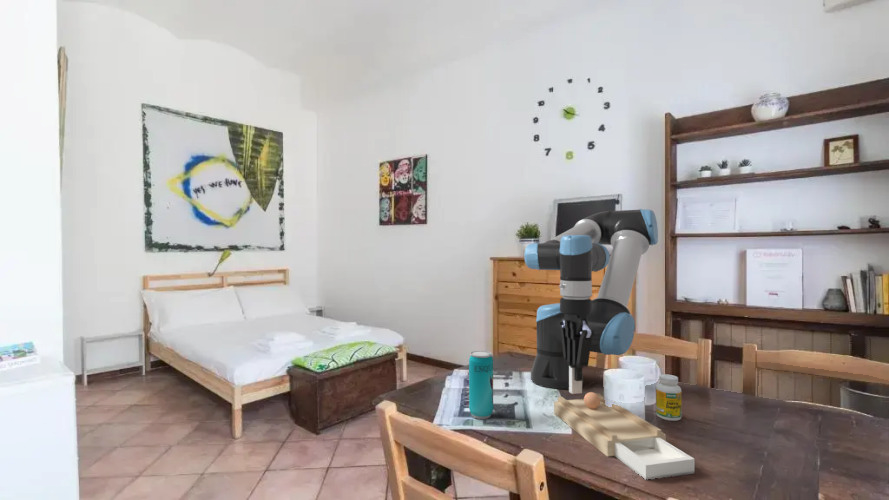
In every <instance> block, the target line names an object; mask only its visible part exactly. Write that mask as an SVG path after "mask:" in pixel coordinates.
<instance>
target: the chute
mask: <svg viewBox="0 0 889 500" xmlns="http://www.w3.org/2000/svg"><path fill="white" fill-rule="evenodd" d="M595 393H596V394H597V395H598V396H599V398H600V405H599V406H598V407H597V408H594V409H592V408H589V407H587V406H586V405H585V403H584V398H577V399H576V398H575V399H566V398H564V397H563V396H557V400H554V401H553V403H554V404H553V414H554V415H555V416H556V417H557V418H559V419H560V420H561V419H562V420H561V421H562V422H564V423H565V422H566V423H567V424H566V423H565V424H566V425H567V426H569V427H570V428H571V429H573V431H575V432H576V433H577V434H579V435H580V436H581V437H582V438H584V439H585V440H586V441H587V442H588V443H589V444H591V445H592V446H593V447H595V448H596V449H597V450H599V452H601V453H602V454H604V456H606V457H615V456H614V443H615V442H620V443H621V442H623V443H624V441H629V442H628V443H627V445H628V444H629V443H630V444H631V442H630V441H632V440H636V444H637V443H639V442H637V440H639V441H640V440H642V439H643V440H648V441H649V440H655V439H653V438H657V437H660V438H661V439H663V440H664V441H666V442H667V439H666V438H667V437H666V436H667V435H666V433H664V432H663V431H662V429H660V428H659V427H657V426H655V425H654V424H652V423H650V422H648V421H647V420H645V419H643V418H642V417H640V416H638V415H636V414H635V413H633V412H632V411H630V410H628V409H626V408H625V407H623V406H621V405H619V404H618V405H619V406H618V405H614V404H612V407H608V406H606V405H605V400H604V397H605V396H604V395H602V394H600V393H598V392H595ZM648 438H650V439H648ZM651 438H652V439H651ZM648 441H646V442H648ZM646 442H645V441H644V442H643V443H645V444H647V443H646ZM650 442H651V441H650ZM652 442H653V441H652ZM623 443H621V444H623ZM632 443H634V441H633V442H632ZM625 444H626V442H625ZM630 444H629V445H628V446H630ZM634 444H635V443H634ZM634 444H632V446H633V445H634ZM641 444H642V443H640V444H639V445H641ZM649 444H650V443H649ZM649 444H648V445H649ZM653 445H654V444H653ZM628 446H627V447H628ZM635 446H636V445H635ZM644 446H645V448H646V446H647V445H644ZM644 446H643V448H644ZM654 446H655V445H654ZM633 447H634V446H633ZM636 447H637V448H639V447H638V444H637V446H636ZM636 447H635V448H636ZM640 447H641V446H640ZM628 448H629V449H630V447H628ZM631 448H632V447H631ZM639 449H640V450H642V448H639ZM639 449H637V450H638V451H639ZM648 449H654V448H648ZM630 450H631V451H632V450H633V451H634V450H635V449H630ZM637 450H635V451H637ZM643 450H644V449H643Z"/></svg>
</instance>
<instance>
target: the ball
mask: <svg viewBox="0 0 889 500" xmlns="http://www.w3.org/2000/svg"><path fill="white" fill-rule="evenodd" d="M596 393H597V392H592V391H590V392H587V393H585V395H584V397H583V399H584V403H585V405H586V406H587V407H589V408H592V409H594V408H597V407H598V406H599V405H600V398H599V396H598V395H597V394H596Z"/></svg>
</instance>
